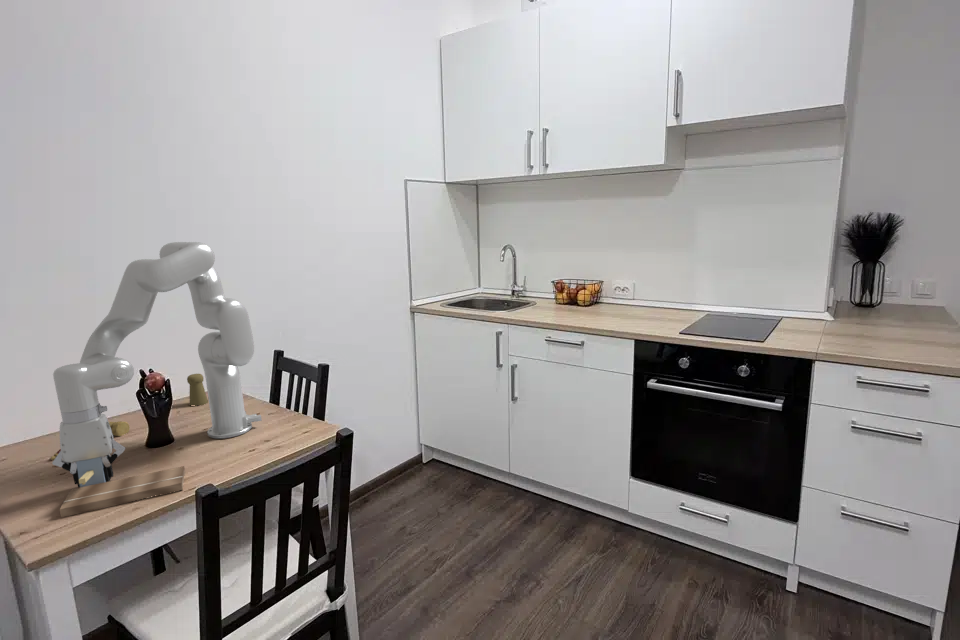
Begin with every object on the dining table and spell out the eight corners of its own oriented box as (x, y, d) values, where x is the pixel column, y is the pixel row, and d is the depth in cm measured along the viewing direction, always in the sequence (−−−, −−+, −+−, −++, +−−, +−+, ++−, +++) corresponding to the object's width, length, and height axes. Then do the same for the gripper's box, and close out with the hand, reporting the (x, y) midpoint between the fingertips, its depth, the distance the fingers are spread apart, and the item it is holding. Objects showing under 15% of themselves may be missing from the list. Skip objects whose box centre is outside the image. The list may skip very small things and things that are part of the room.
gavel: (63, 452, 144) (35, 450, 146) (67, 467, 145) (39, 464, 148) (128, 419, 164) (102, 417, 166) (131, 432, 165) (106, 430, 167)
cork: (205, 399, 193) (201, 370, 191) (210, 403, 188) (205, 374, 186) (187, 403, 189) (183, 374, 187) (191, 407, 185) (187, 378, 182)
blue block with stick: (109, 477, 133) (105, 451, 133) (97, 492, 122) (93, 462, 121) (85, 482, 131) (81, 455, 131) (70, 497, 120) (66, 468, 119)
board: (185, 473, 136) (184, 465, 136) (182, 490, 127) (181, 482, 127) (72, 496, 126) (71, 488, 126) (61, 517, 117) (59, 509, 117)
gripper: (125, 403, 133) (137, 468, 137) (42, 416, 126) (57, 484, 130) (120, 412, 127) (132, 480, 131) (32, 427, 120) (48, 498, 123)
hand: (95, 482), depth 130 cm, fingers closed on blue block with stick, 4 cm apart
